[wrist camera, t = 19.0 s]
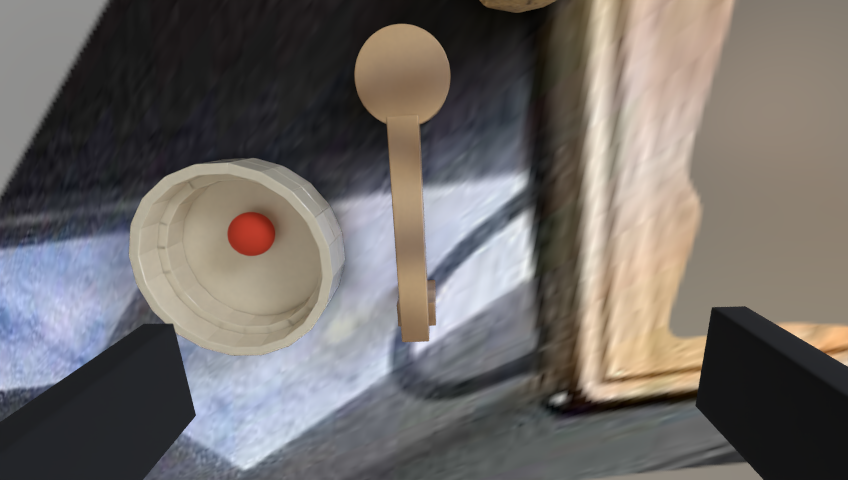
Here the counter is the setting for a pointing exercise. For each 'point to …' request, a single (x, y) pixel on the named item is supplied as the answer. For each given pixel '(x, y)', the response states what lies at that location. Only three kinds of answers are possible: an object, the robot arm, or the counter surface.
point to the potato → (516, 4)
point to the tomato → (251, 234)
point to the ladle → (406, 150)
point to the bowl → (236, 256)
